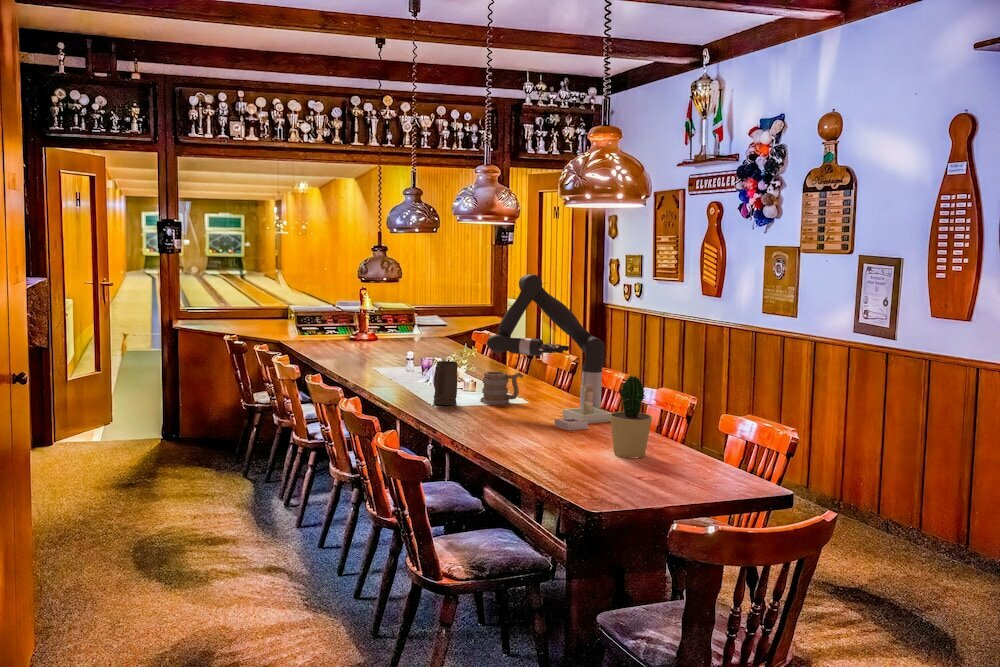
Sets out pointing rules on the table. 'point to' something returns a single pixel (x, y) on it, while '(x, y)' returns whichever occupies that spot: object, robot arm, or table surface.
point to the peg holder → (571, 423)
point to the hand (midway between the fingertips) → (566, 349)
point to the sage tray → (596, 415)
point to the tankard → (499, 387)
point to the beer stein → (445, 383)
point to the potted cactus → (631, 421)
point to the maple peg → (588, 400)
